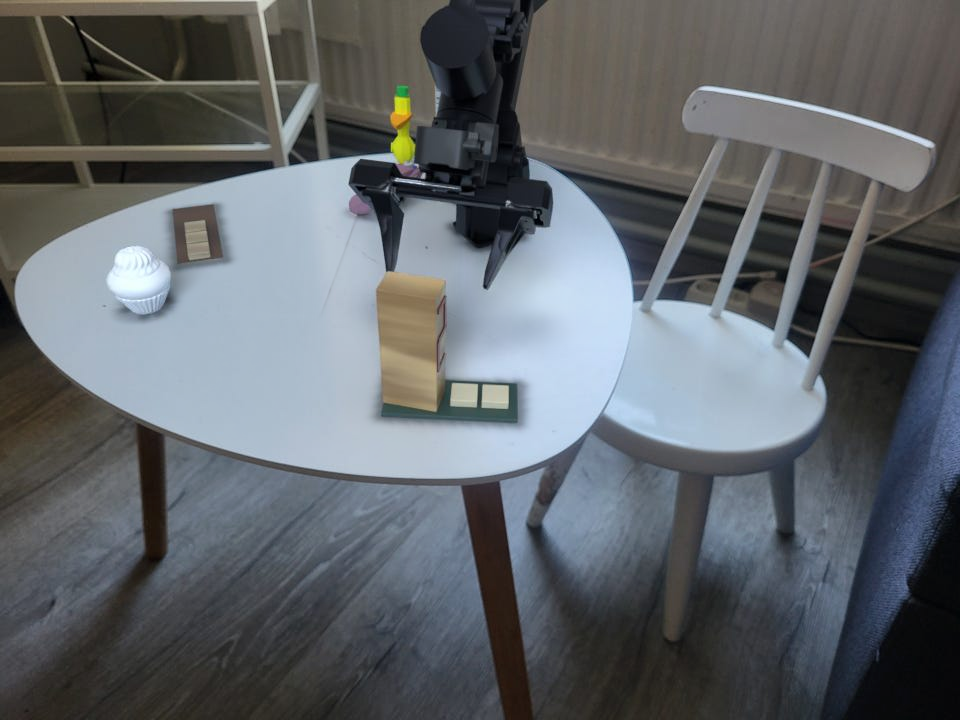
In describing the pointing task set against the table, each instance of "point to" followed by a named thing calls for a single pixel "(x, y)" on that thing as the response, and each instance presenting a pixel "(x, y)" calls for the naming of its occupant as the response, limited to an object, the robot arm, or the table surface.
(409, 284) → the wooden block
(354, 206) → the pink toy car
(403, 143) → the toy figure
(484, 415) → the dark green board
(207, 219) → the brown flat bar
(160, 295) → the muffin
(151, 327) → the table surface
